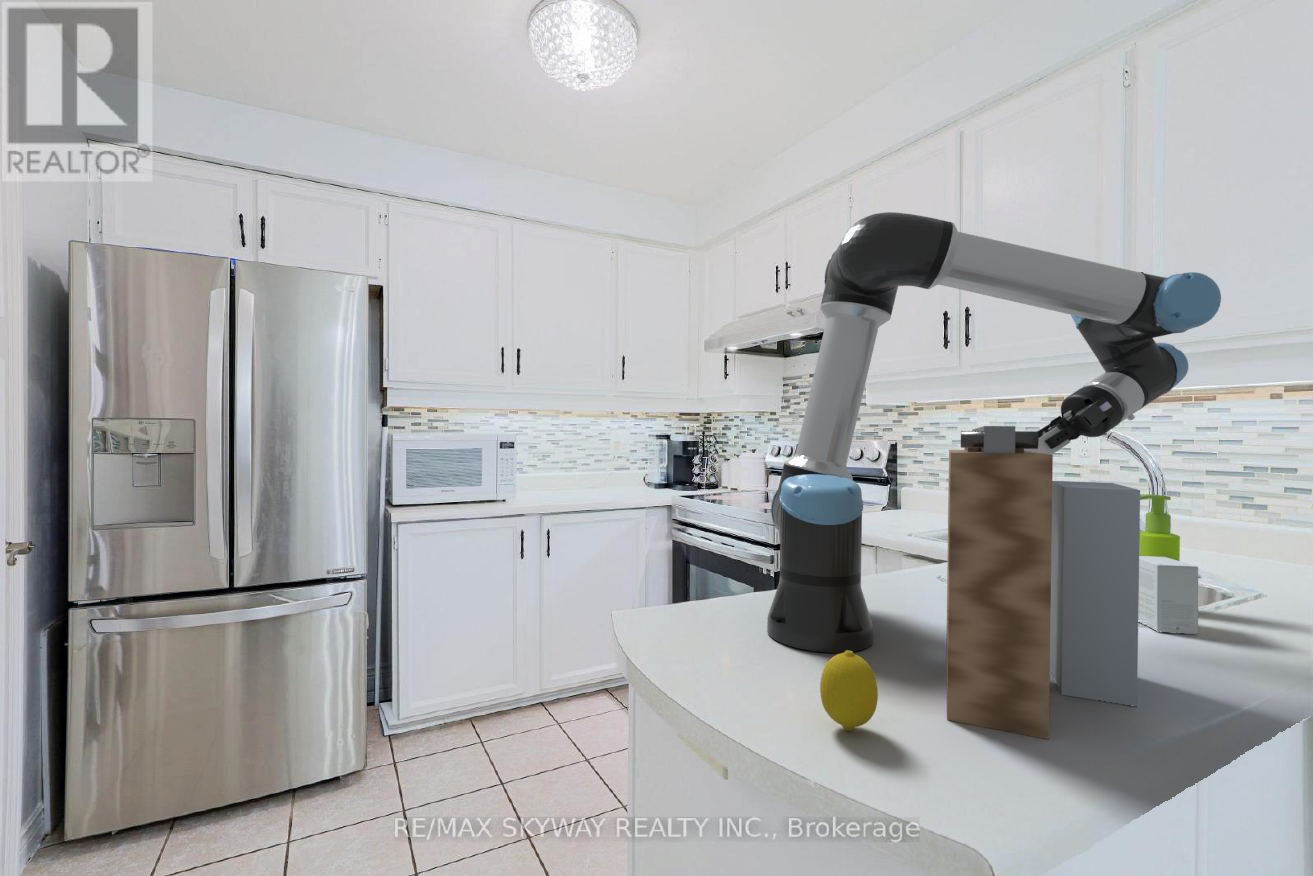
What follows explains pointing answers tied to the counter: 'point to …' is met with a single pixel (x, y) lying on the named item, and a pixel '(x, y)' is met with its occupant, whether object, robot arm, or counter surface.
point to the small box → (1168, 595)
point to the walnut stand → (999, 590)
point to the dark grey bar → (999, 439)
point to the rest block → (1095, 590)
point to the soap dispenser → (1158, 531)
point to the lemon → (849, 690)
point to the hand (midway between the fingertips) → (999, 471)
